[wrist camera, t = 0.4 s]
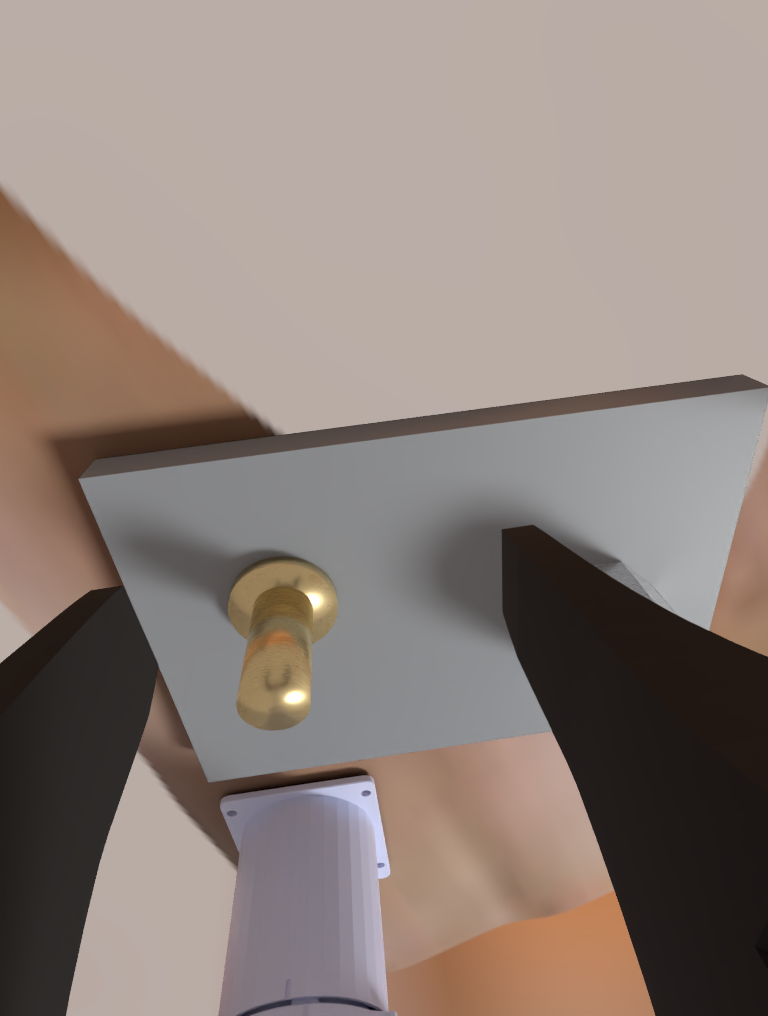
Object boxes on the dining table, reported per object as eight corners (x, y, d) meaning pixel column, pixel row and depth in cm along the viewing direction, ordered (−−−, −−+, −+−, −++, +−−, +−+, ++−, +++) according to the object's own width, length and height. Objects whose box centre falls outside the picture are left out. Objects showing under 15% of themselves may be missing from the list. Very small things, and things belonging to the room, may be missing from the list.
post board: (671, 686, 28) (759, 812, 22) (214, 754, 27) (184, 901, 21) (742, 374, 20) (909, 446, 14) (95, 459, 19) (-3, 570, 13)
